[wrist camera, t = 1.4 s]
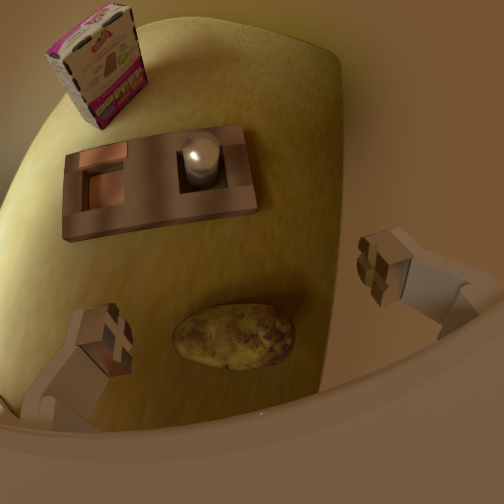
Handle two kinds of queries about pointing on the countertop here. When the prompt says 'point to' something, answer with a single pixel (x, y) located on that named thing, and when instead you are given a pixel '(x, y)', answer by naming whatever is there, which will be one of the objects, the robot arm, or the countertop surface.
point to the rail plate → (150, 186)
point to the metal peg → (201, 160)
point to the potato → (235, 336)
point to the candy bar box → (100, 63)
